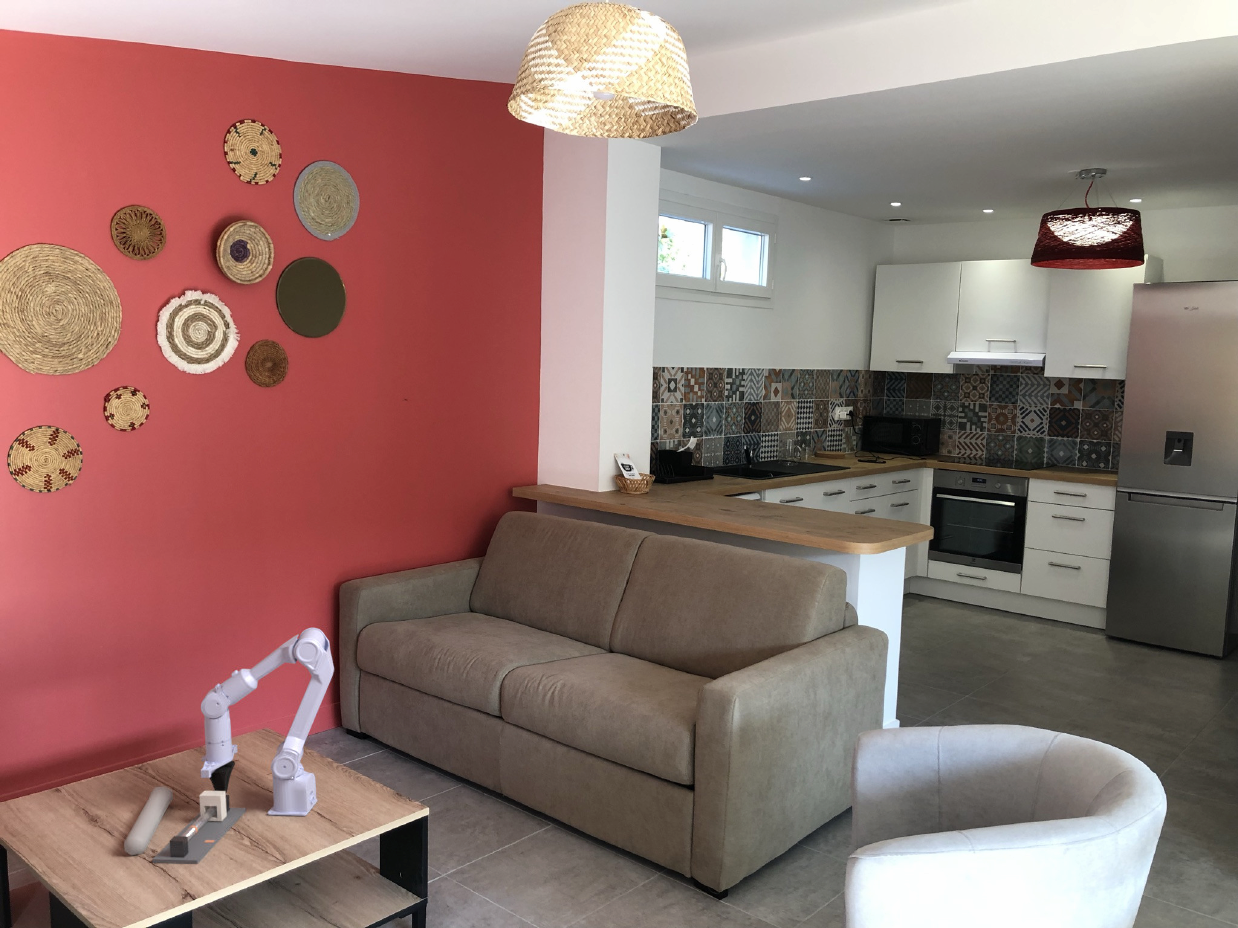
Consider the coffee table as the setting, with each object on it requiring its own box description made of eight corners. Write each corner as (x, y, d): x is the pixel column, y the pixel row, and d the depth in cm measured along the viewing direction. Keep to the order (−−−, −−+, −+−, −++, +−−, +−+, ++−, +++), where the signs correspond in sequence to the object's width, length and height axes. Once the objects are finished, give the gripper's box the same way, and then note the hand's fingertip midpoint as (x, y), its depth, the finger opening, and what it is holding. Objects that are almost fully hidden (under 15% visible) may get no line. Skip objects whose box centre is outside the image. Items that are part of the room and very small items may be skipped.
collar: (226, 815, 229) (225, 790, 228) (221, 821, 227) (220, 795, 226) (206, 815, 229) (204, 790, 229) (200, 820, 227) (199, 795, 226)
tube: (149, 839, 213) (176, 788, 237) (124, 834, 212) (153, 783, 236) (142, 862, 213) (169, 808, 238) (117, 857, 212) (147, 804, 236)
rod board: (246, 810, 234) (245, 792, 233) (197, 863, 210) (196, 843, 210) (205, 810, 234) (204, 791, 234) (152, 862, 211) (151, 842, 210)
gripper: (216, 726, 238) (219, 779, 239) (186, 751, 223) (190, 807, 225) (244, 727, 237) (247, 780, 239) (216, 752, 223) (219, 808, 225)
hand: (221, 793), depth 232 cm, fingers closed
